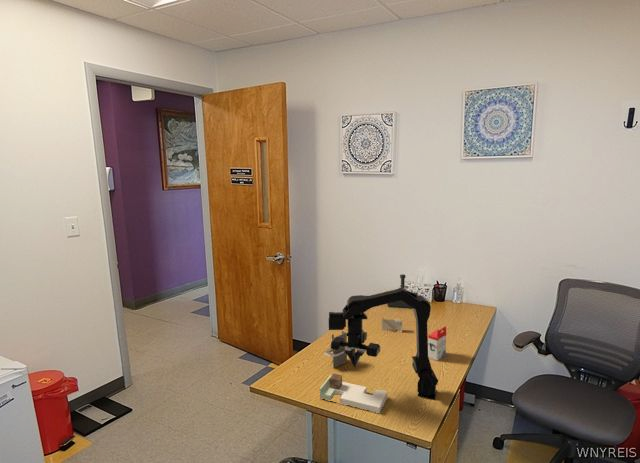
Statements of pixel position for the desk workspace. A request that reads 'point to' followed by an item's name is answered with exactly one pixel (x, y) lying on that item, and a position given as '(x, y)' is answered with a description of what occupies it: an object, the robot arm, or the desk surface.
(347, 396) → the board
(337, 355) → the architectural model
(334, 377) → the walnut block
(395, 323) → the model
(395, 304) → the dark post stand
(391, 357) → the desk surface
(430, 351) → the ink box
